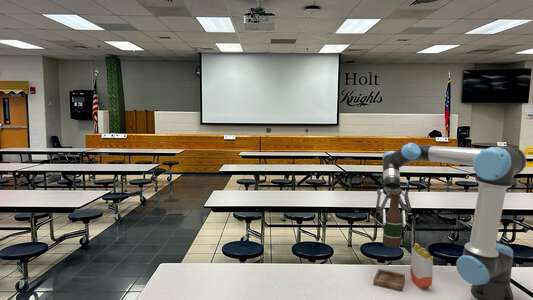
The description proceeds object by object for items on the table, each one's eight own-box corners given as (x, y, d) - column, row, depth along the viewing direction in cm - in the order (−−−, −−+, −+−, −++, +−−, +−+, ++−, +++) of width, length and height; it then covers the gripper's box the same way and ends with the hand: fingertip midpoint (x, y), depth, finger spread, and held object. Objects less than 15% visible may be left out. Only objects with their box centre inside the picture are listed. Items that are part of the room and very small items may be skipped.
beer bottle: (402, 249, 153) (406, 195, 150) (383, 247, 155) (387, 193, 152) (399, 242, 161) (402, 190, 158) (381, 240, 162) (384, 189, 159)
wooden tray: (405, 279, 162) (405, 274, 162) (401, 291, 152) (402, 286, 151) (378, 273, 168) (378, 268, 168) (373, 284, 157) (373, 279, 157)
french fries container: (419, 278, 164) (421, 241, 162) (432, 290, 153) (435, 251, 151) (409, 278, 163) (412, 241, 161) (422, 291, 153) (425, 251, 150)
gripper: (413, 186, 167) (417, 230, 154) (368, 183, 172) (369, 226, 158) (416, 177, 162) (421, 222, 148) (370, 174, 166) (370, 218, 152)
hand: (394, 224), depth 153 cm, fingers closed on beer bottle, 7 cm apart
